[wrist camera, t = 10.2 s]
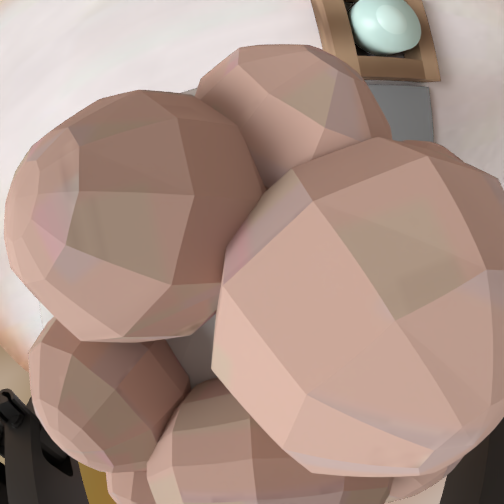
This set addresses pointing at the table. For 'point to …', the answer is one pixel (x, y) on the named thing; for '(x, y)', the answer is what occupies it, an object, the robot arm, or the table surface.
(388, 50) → the dome
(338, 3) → the housing
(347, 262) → the toy
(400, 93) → the mat
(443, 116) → the table surface
